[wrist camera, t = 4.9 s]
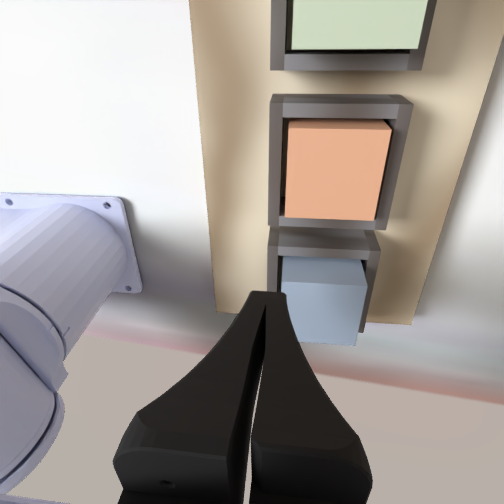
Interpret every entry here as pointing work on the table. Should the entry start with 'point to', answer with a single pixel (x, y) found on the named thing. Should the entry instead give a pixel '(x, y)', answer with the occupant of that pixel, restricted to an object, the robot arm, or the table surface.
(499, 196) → the table surface
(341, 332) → the slate key
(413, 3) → the sage key
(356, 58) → the keypad base
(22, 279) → the robot arm
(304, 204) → the terracotta key
